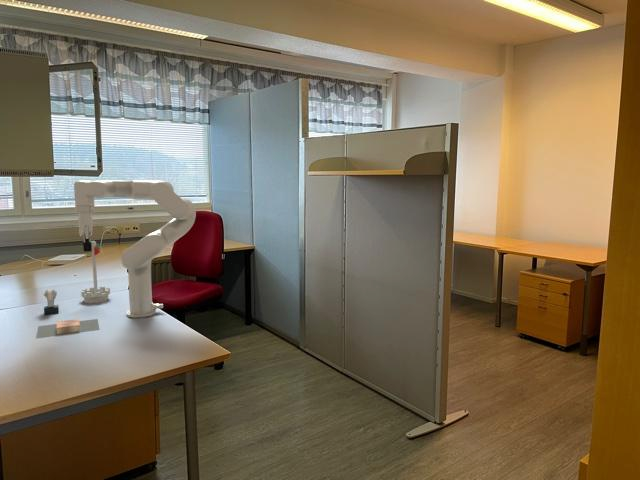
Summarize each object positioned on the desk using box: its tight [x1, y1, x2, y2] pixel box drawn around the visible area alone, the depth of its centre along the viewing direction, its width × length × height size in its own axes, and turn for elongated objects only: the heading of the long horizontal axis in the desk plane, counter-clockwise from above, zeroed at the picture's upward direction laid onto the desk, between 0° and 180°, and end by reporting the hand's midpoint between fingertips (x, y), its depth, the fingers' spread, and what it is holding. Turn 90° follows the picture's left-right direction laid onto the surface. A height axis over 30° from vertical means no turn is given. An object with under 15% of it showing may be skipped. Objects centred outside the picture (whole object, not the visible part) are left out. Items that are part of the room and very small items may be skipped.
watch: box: [43, 288, 60, 316], centre depth 211 cm, size 6×8×11 cm
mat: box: [35, 318, 100, 339], centre depth 190 cm, size 22×16×1 cm
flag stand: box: [80, 240, 111, 304], centre depth 232 cm, size 13×13×30 cm
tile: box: [56, 318, 80, 334], centre depth 188 cm, size 8×2×9 cm
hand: (87, 251), depth 205 cm, fingers closed
